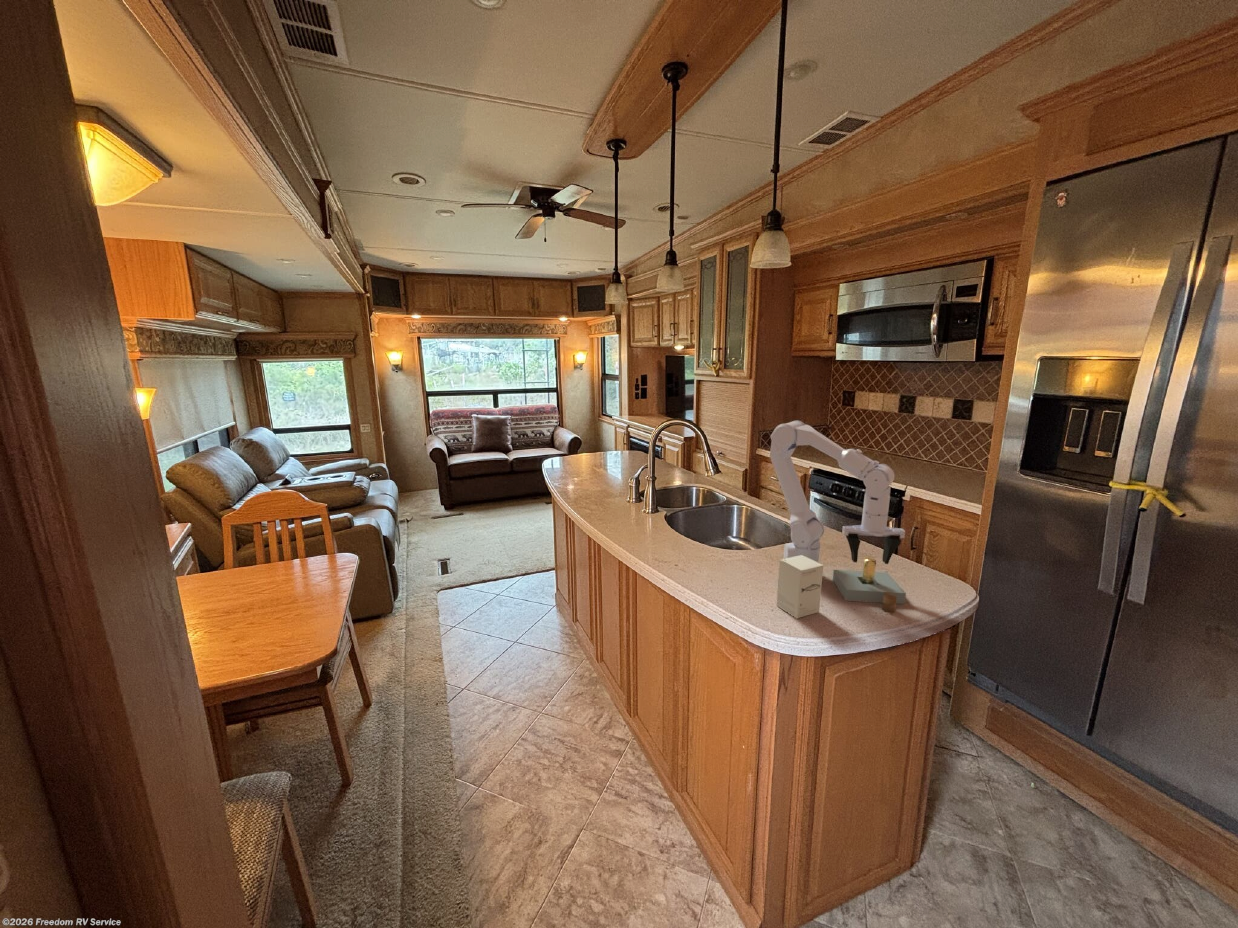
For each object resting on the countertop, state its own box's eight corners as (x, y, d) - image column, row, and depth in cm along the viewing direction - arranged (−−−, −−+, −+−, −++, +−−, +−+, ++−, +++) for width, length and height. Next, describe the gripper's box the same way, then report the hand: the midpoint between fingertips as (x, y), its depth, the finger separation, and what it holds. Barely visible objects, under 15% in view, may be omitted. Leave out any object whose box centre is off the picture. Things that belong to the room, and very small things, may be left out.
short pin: (884, 612, 118) (886, 597, 117) (880, 606, 121) (882, 591, 120) (896, 613, 118) (898, 598, 117) (892, 607, 121) (894, 592, 120)
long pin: (862, 593, 128) (865, 561, 126) (859, 588, 130) (863, 557, 128) (873, 594, 127) (877, 562, 125) (871, 589, 130) (874, 558, 128)
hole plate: (845, 600, 124) (846, 589, 123) (832, 579, 136) (833, 569, 135) (904, 603, 122) (905, 593, 121) (886, 582, 134) (887, 572, 133)
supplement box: (796, 619, 116) (800, 570, 113) (775, 605, 122) (778, 558, 119) (820, 612, 118) (824, 564, 116) (798, 599, 125) (801, 553, 122)
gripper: (850, 516, 121) (845, 566, 124) (912, 518, 119) (905, 569, 122) (841, 507, 128) (837, 555, 131) (900, 509, 126) (894, 558, 129)
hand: (869, 561), depth 127 cm, fingers open, 7 cm apart
